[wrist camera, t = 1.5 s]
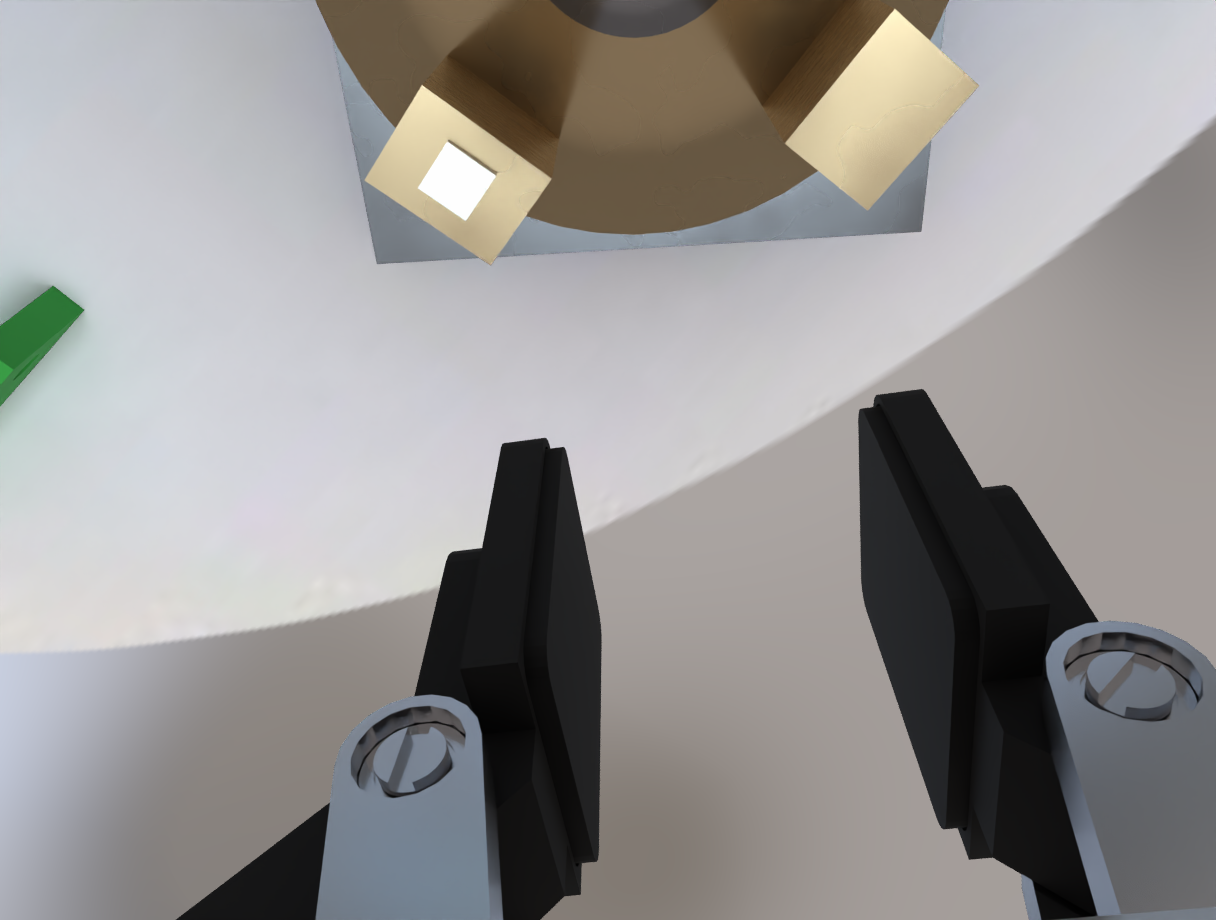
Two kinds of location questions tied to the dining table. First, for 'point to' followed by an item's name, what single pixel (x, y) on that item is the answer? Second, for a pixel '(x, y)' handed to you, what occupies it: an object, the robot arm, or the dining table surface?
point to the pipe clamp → (32, 336)
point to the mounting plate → (787, 216)
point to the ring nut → (640, 106)
